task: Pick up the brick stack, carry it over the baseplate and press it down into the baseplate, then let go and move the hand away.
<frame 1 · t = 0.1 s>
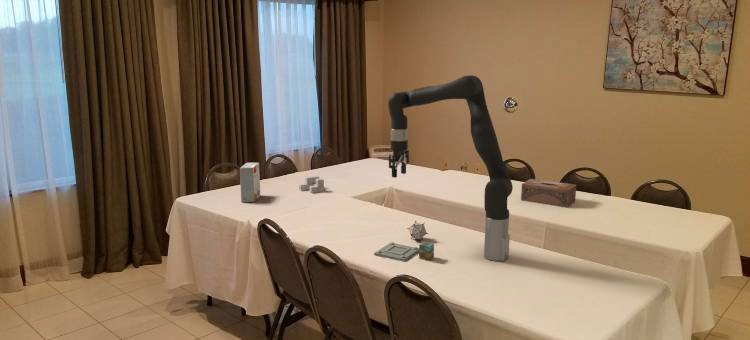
hand: (399, 175, 235), 29 cm above the table, fingers open, 8 cm apart
hard drive box: (251, 199, 308), on the table
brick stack: (426, 258, 219), on the table
baseplate: (397, 252, 224), on the table
tissue box cover: (547, 201, 301), on the table
grey faceted piece: (417, 239, 240), on the table
grey block assembly: (311, 191, 325), on the table
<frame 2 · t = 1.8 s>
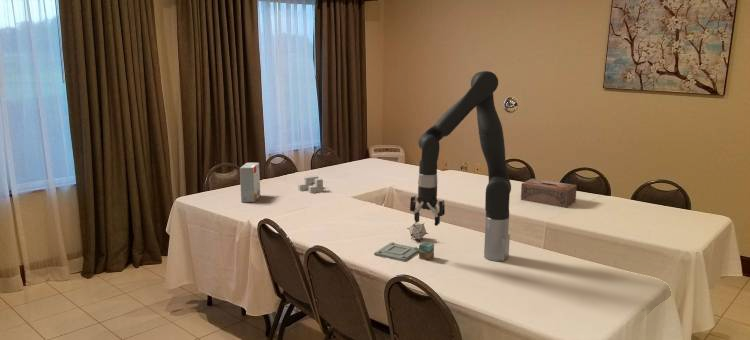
hand: (426, 223, 216), 15 cm above the table, fingers open, 8 cm apart
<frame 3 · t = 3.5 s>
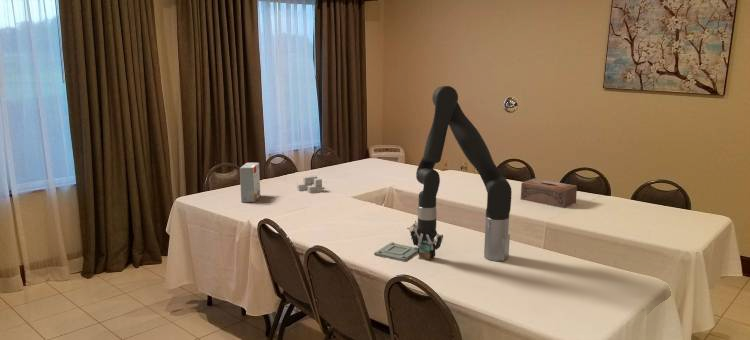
hand: (426, 256, 219), 1 cm above the table, fingers closed on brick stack, 4 cm apart
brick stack: (426, 257, 219), on the table, touching gripper
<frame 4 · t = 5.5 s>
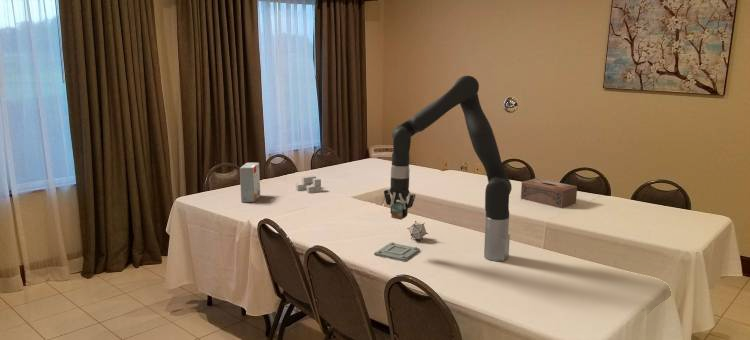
hand: (398, 215, 221), 16 cm above the table, fingers closed on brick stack, 4 cm apart
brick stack: (398, 217, 221), point 16 cm above the table, touching gripper
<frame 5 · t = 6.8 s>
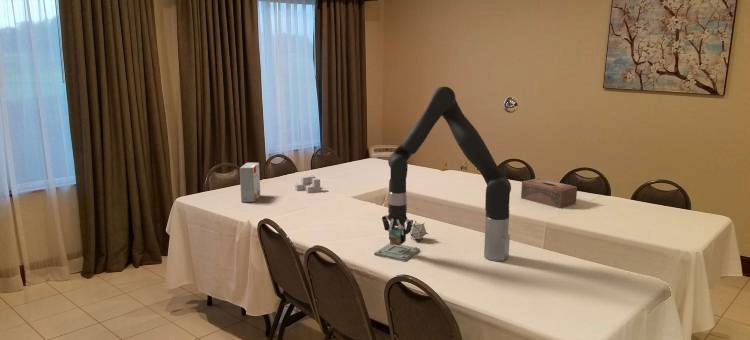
hand: (397, 241, 224), 5 cm above the table, fingers closed on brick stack, 4 cm apart
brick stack: (397, 242, 224), point 4 cm above the table, touching gripper
when the fingers open (2 cm above the table, at t = 7.7 s): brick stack stays where it is, resting on baseplate.
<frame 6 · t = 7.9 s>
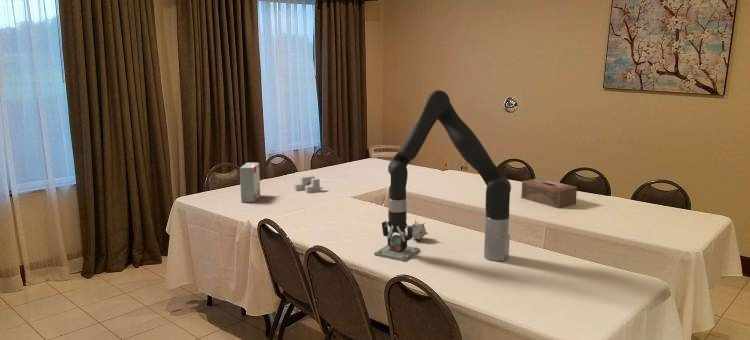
hand: (397, 247, 224), 2 cm above the table, fingers open, 6 cm apart
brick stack: (397, 250, 224), point 1 cm above the table, touching baseplate
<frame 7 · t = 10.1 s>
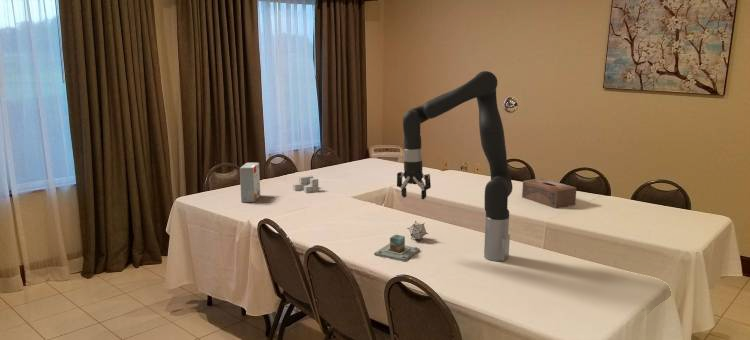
hand: (413, 198, 221), 23 cm above the table, fingers open, 8 cm apart
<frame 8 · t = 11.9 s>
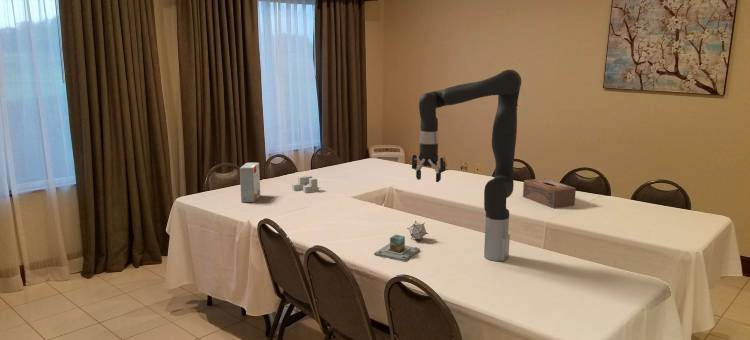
hand: (428, 180, 222), 30 cm above the table, fingers open, 8 cm apart
at the end: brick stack 0.1 cm off-centre on the baseplate, point 1.0 cm above the baseplate's base; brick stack tilted 0°; the gripper is holding nothing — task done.
